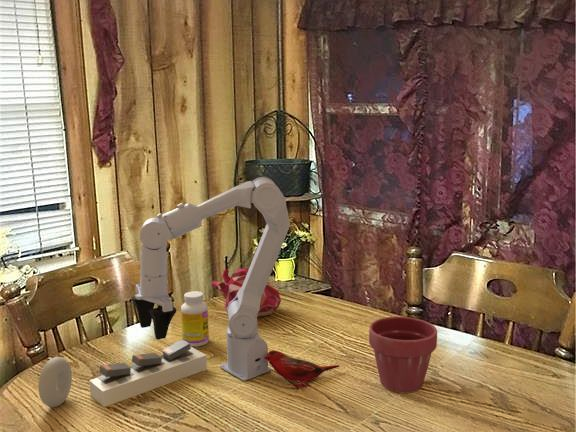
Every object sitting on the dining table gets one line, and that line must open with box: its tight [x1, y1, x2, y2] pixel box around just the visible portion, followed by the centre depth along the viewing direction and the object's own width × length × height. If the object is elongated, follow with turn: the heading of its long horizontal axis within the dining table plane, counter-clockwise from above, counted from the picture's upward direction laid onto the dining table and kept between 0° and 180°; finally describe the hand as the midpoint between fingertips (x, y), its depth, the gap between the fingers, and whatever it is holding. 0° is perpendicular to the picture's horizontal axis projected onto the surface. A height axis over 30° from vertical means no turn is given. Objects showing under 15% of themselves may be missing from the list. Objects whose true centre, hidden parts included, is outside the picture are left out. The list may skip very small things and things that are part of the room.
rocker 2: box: [131, 352, 162, 366], centre depth 137 cm, size 3×6×2 cm, turn 131°
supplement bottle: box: [180, 290, 210, 348], centre depth 156 cm, size 7×7×13 cm
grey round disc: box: [37, 356, 73, 408], centre depth 127 cm, size 10×4×10 cm, turn 173°
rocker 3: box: [161, 339, 191, 360], centre depth 141 cm, size 3×6×2 cm, turn 131°
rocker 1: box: [98, 362, 131, 377], centre depth 132 cm, size 3×6×2 cm, turn 131°
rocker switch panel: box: [88, 347, 208, 408], centre depth 136 cm, size 6×25×4 cm, turn 131°
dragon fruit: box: [211, 267, 282, 318], centre depth 175 cm, size 14×12×20 cm
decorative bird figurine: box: [263, 350, 340, 388], centre depth 137 cm, size 3×18×10 cm
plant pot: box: [368, 316, 438, 394], centre depth 133 cm, size 14×14×13 cm
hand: (153, 332), depth 138 cm, fingers open, 7 cm apart
